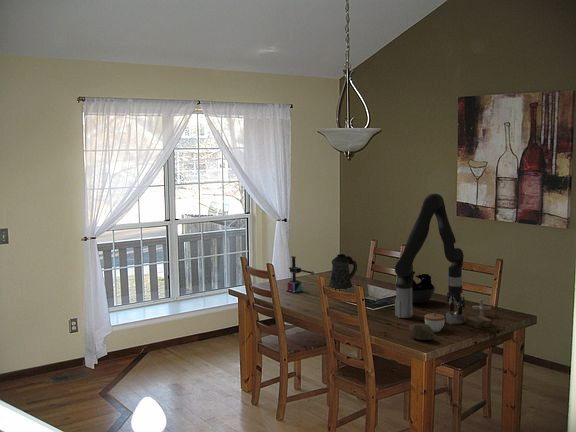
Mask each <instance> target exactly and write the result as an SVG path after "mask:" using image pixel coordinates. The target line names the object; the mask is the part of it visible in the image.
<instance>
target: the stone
mask: <svg viewBox="0 0 576 432" xmlns="http://www.w3.org/2000/svg"><path fill="white" fill-rule="evenodd" d="M407 328H408V331H409V334H410V335H411V337H412V338H414V339H416V340H419V341H431V340H433V339H434V338H435V336H436V335H435V332H433V330H432V328H431V327H430V326H429V325H427V324H425V323H417V322H416V323H412V324H410V325H408V327H407Z"/></svg>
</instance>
